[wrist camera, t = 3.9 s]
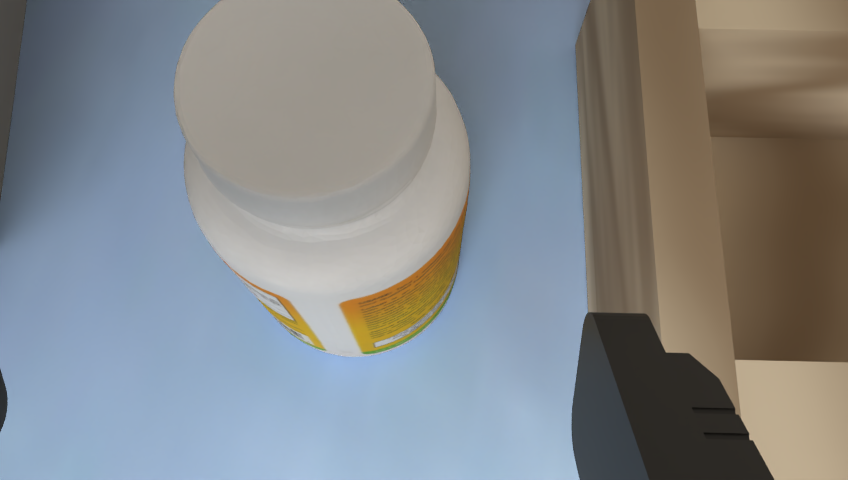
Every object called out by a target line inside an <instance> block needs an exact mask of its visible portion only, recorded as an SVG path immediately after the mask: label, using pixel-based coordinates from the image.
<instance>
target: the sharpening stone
mask: <svg viewBox="0 0 848 480" xmlns="http://www.w3.org/2000/svg"><path fill="white" fill-rule="evenodd" d="M26 3H27V0H0V199H1V192H2V184H3V177H4V169H5V162H6V154H7V147H8V139H9V132H10V124H11V116H12V109H13V101H14V94H15V86H16V79H17V71H18V64H19V56H20V48H21V41H22V33H23V26H24V18H25V11H26Z"/></svg>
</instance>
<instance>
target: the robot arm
mask: <svg viewBox="0 0 848 480" xmlns="http://www.w3.org/2000/svg"><path fill="white" fill-rule="evenodd" d="M6 412H7V391H6V387H5V384H4V380H3V377H2V373H1V370H0V431H1V429H2V427H3V424H4V421H5V417H6ZM572 442H573V450H574V456H575V461H576V465H577V470H578V474H579V478H580V480H774V478H773V476H772V474H771V472H770V471H769V469H768V467H767V465H766V463H765V461H764V460H763V458H762V456H761V454H760V452H759V450H758V449H757V447H756V445H755V443H754V441H753V440H750V439H749V432H748V430H747V429H746V427H745V425H744V423H743V421H742V419H741V418H740V416H739V414H736V413H735V407H734V405H733V403H732V401H731V399H730V398H729V396H728V394H727V392H726V390H725V388H724V387H723V385H722V383H721V381H720V379H719V378H718V377H717V376H715V375H714V374H713V373H712V372H711V371H710V370H708V369H707V368H706V367H705V366H704V365H702V364H701V363H700V362H699V361H698V360H696V359H695V358H694V357H693V356H692V355H691V354H689V353H666V352H665V350H664V347H663V345H662V343H661V341H660V339H659V337H658V335H657V332H656V330H655V328H654V326H653V324H652V322H651V320H650V318H649V316H648V315H647V314H645V313H606V312H588V313H587V315H586V317H585V320H584V324H583V330H582V338H581V345H580V353H579V360H578V368H577V376H576V383H575V391H574V398H573V406H572Z"/></svg>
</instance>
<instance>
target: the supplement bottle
mask: <svg viewBox="0 0 848 480" xmlns="http://www.w3.org/2000/svg"><path fill="white" fill-rule="evenodd" d="M174 102H175V110H176V116H177V119H178V122H179V126H180V128H181V131H182V133H183V136H184V138H185V140H186V145H185V154H184V177H185V185H186V190H187V194H188V199H189V202H190V205H191V208H192V211H193V214H194V217H195V219H196V221H197V223H198V225H199V227H200V229H201V231H202V232H203V234H204V235H205V237H206V239H207V240H208V242H209V243H210V245H211V246H212V247H213V249H214V250H215V251H216V253H217V254H218V255H219V257H220V258H221V259H222V260H223V261H224V262H225V263H226V264H227V265H228V266H229V268H230V269H231V270H232V271H233V272H234V273H235V274H236V275H237V276H238V277H239V279H240V280H241V281H242V282H243V283H244V284H245V286H246V287H247V288H248V289H249V290H250V292H251V293H253V294H254V295H255V296H256V298H257V299H258V300H259V301H260V302H261V303H262V304H263V305H264V306H265V308H266V309H267V310H268V311H269V312H270V313H271V314H272V316H273V317H274V318H275V319H276V320H277V321H278V322H279V323H280V324H281V325H282V326H283V327H284V328H285V329H286V330H287V331H288V332H289V333H290V334H292V335H293V336H295V337H296V338H297V339H299V340H300V341H302V342H303V343H305V344H307V345H309V346H311V347H313V348H315V349H317V350H320V351H323V352H326V353H329V354H334V355H338V356H346V357H364V356H372V355H377V354H381V353H384V352H388V351H391V350H393V349H396V348H398V347H400V346H402V345H404V344H406V343H408V342H409V341H411V340H413V339H414V338H416V337H417V336H418V335H420V334H421V333H422V332H423V331H425V330H426V329H427V328H428V327H429V326H430V325H431V324H432V323H433V322H434V320H435V319H436V318H437V317H438V315H439V314H440V312H441V311H442V309H443V308H444V306H445V304H446V303H447V300H448V298H449V296H450V294H451V291H452V288H453V285H454V282H455V278H456V274H457V269H458V263H459V256H460V248H461V240H462V233H463V227H464V221H465V216H466V209H467V200H468V194H469V185H470V150H469V142H468V136H467V132H466V128H465V125H464V122H463V119H462V116H461V114H460V111H459V109H458V107H457V104H456V102H455V100H454V98H453V96H452V94H451V93H450V91H449V90H448V88H447V87H446V86H445V84H444V83H443V82H442V80H441V79H440V78H439V77H438V76H437V75H436V74H435V67H434V60H433V56H432V52H431V49H430V46H429V44H428V42H427V39H426V37H425V35H424V33H423V31H422V30H421V28H420V26H419V25H418V23H417V22H416V20H415V19H414V18H413V16H412V15H411V14H410V13H409V11H408V10H407V9H406V8H405V7H404V6H403V5H402V4H401V3H400V2H399V1H397V0H221V1H220V2H218V3H217V4H216V5H215V6H214V7H213V8H212V9H211V10H210V11H209V12H208V13H207V14H206V15H205V16H204V17H203V18H202V19H201V20H200V22H199V23H198V24H197V25H196V27H195V28H194V30H193V31H192V33H191V34H190V35H189V37H188V39H187V41H186V43H185V45H184V47H183V49H182V52H181V55H180V58H179V61H178V63H177V68H176V74H175V83H174Z"/></svg>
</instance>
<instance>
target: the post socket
mask: <svg viewBox="0 0 848 480" xmlns="http://www.w3.org/2000/svg"><path fill="white" fill-rule="evenodd" d="M575 46H576V67H577V88H578V108H579V129H580V150H581V171H582V192H583V213H584V234H585V255H586V276H587V297H588V312H606V313H645V314H647V315H648V316H649V318H650V320H651V322H652V324H653V326H654V328H655V330H656V332H657V335H658V337H659V339H660V341H661V343H662V345H663V347H664V350H665V352H666V353H689V354H691V355H692V356H693V357H694V358H695V359H696V360H698V361H699V362H700V363H701V364H702V365H704V366H705V367H706V368H707V369H708V370H710V371H711V372H712V373H713V374H714V375H715V376H717V377H718V378H719V379H720V381H721V383H722V385H723V387H724V388H725V390H726V392H727V394H728V396H729V398H730V399H731V401H732V403H733V405H734V407H735V413H736V414H739V416H740V418H741V419H742V421H743V423H744V425H745V427H746V429H747V430H748V432H749V439H750V440H753V441H754V443H755V445H756V447H757V449H758V450H759V452H760V454H761V456H762V458H763V460H764V461H765V463H766V465H767V467H768V469H769V471H770V472H771V474H772V476H773V478H774V480H848V0H591V1H590V4H589V7H588V9H587V12H586V15H585V18H584V21H583V24H582V27H581V30H580V33H579V36H578V39H577V42H576V45H575Z"/></svg>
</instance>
